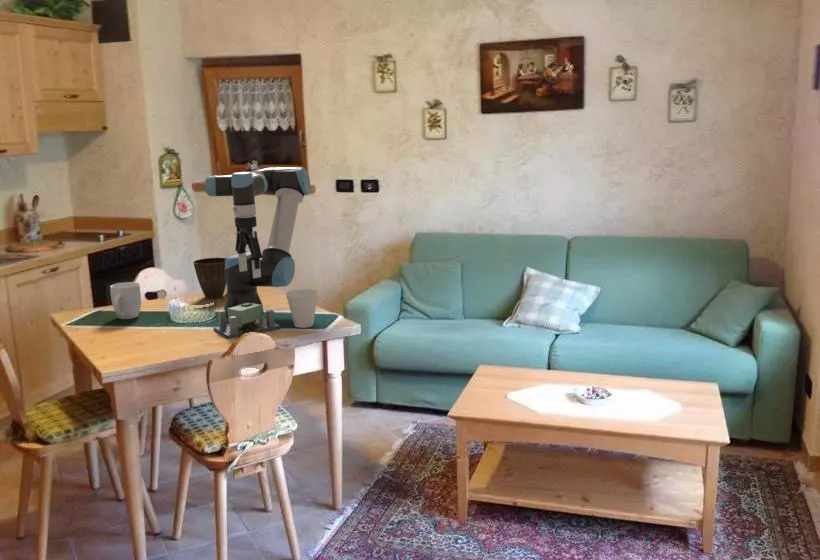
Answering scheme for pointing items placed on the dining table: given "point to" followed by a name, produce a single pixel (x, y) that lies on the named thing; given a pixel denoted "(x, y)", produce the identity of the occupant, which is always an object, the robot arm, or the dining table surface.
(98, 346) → the dining table surface
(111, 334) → the dining table surface
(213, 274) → the plant pot
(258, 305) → the block
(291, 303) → the cup
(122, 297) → the mug
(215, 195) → the robot arm
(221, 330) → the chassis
